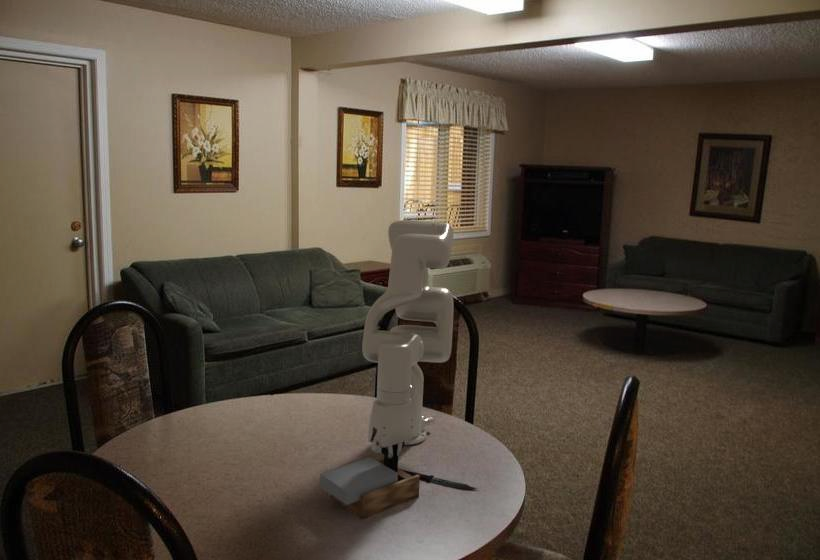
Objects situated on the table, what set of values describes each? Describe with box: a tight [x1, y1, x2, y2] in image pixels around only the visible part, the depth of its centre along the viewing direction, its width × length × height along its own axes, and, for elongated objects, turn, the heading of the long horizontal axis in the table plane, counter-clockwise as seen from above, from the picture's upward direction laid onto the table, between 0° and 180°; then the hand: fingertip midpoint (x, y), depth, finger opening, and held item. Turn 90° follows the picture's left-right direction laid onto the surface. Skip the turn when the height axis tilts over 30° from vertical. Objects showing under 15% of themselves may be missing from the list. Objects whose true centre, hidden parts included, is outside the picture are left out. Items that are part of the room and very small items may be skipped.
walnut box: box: [330, 457, 421, 520], centre depth 146 cm, size 16×12×5 cm
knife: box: [400, 468, 479, 490], centre depth 155 cm, size 21×1×3 cm
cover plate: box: [319, 457, 398, 505], centre depth 143 cm, size 14×10×3 cm
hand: (390, 470), depth 149 cm, fingers closed
